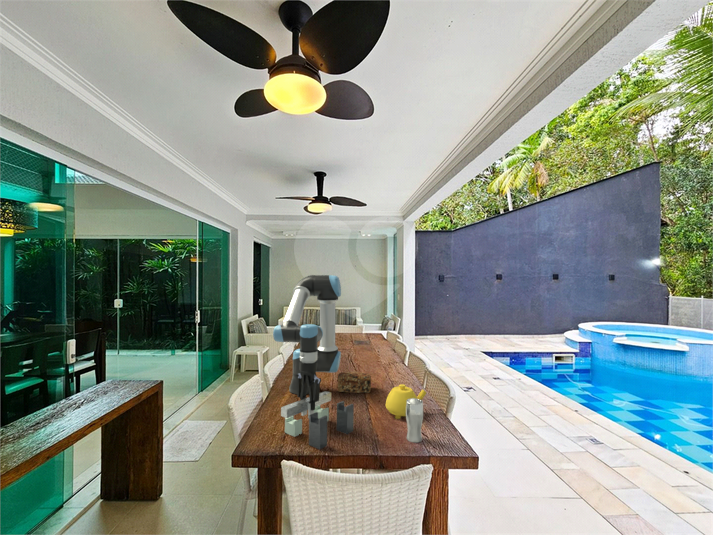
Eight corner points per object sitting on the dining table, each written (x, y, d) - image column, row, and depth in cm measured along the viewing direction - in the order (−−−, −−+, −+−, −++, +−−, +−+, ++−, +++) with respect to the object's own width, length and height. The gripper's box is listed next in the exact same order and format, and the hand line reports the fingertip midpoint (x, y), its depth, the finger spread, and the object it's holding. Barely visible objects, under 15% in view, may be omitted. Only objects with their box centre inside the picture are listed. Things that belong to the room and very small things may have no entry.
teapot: (420, 406, 174) (420, 378, 174) (433, 419, 158) (433, 388, 159) (381, 409, 170) (381, 380, 170) (391, 422, 154) (391, 391, 155)
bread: (337, 393, 193) (337, 374, 193) (338, 386, 203) (338, 369, 203) (370, 393, 192) (371, 375, 192) (370, 387, 203) (370, 370, 203)
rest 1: (284, 432, 144) (284, 418, 144) (292, 429, 147) (292, 415, 147) (294, 436, 140) (294, 422, 140) (302, 433, 143) (302, 419, 143)
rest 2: (312, 420, 156) (312, 407, 156) (318, 417, 159) (319, 404, 159) (322, 423, 152) (322, 410, 152) (328, 420, 156) (328, 407, 156)
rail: (281, 416, 140) (281, 407, 140) (325, 398, 161) (325, 391, 161) (286, 418, 138) (287, 409, 138) (331, 400, 159) (331, 392, 159)
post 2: (336, 430, 146) (336, 403, 146) (342, 427, 149) (343, 400, 149) (347, 434, 142) (347, 406, 143) (353, 431, 146) (353, 404, 146)
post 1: (308, 444, 133) (309, 415, 134) (316, 441, 137) (316, 412, 137) (319, 449, 130) (320, 419, 130) (327, 445, 133) (327, 415, 133)
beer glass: (403, 435, 142) (404, 398, 143) (420, 434, 143) (420, 397, 143) (407, 443, 135) (408, 404, 136) (425, 443, 136) (425, 404, 136)
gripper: (288, 359, 152) (287, 413, 152) (316, 366, 142) (315, 424, 141) (301, 356, 158) (300, 408, 158) (328, 362, 148) (327, 418, 147)
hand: (307, 416), depth 149 cm, fingers closed on rail, 3 cm apart
